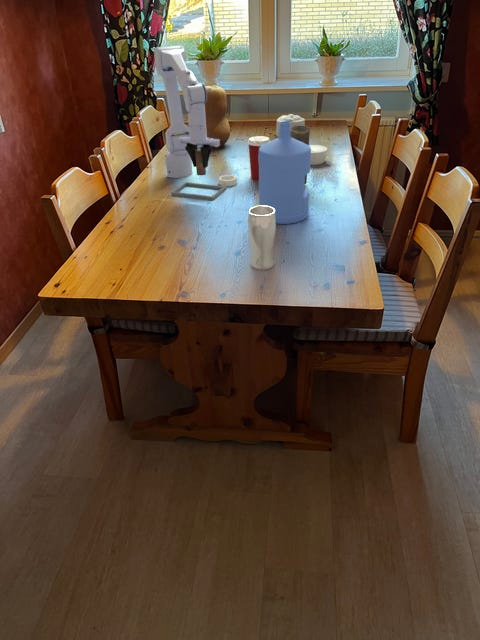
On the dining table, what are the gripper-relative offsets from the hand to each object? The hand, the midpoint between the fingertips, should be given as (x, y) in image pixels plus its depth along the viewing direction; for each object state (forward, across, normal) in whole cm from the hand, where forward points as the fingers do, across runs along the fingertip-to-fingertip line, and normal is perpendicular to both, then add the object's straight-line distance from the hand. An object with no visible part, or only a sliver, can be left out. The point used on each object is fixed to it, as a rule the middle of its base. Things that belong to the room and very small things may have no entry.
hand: (200, 166), depth 170 cm
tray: (+10, -1, -1) cm, 10 cm away
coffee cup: (+10, +14, +19) cm, 26 cm away
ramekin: (+10, +28, +46) cm, 55 cm away
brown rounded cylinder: (+10, +29, +17) cm, 35 cm away
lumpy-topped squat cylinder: (+10, +7, +83) cm, 84 cm away
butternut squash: (+10, -20, +56) cm, 61 cm away
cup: (+10, +5, +10) cm, 15 cm away
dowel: (+3, 0, 0) cm, 3 cm away
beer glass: (+10, +38, -43) cm, 58 cm away
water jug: (+10, +33, -10) cm, 36 cm away
